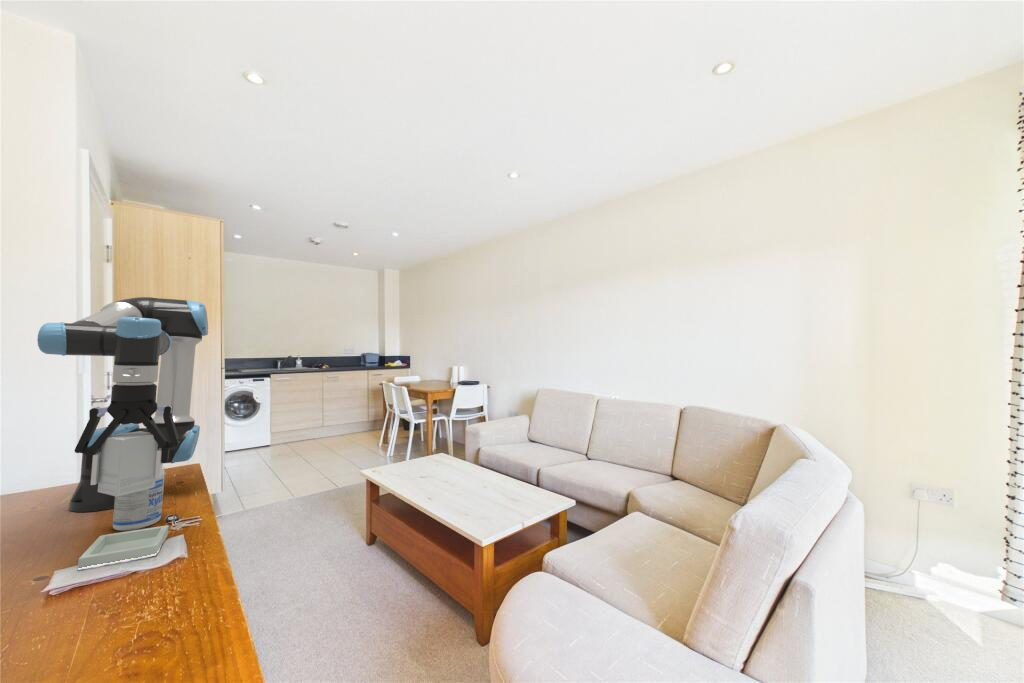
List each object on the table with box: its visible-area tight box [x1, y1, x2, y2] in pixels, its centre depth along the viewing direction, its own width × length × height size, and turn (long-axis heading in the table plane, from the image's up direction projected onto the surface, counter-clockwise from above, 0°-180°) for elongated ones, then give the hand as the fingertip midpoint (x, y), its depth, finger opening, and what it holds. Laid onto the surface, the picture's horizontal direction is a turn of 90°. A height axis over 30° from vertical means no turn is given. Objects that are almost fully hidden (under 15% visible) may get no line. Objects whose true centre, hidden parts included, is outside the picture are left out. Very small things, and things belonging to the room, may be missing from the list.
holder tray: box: [77, 524, 170, 569], centre depth 90 cm, size 12×12×2 cm
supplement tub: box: [112, 465, 166, 532], centre depth 104 cm, size 10×10×15 cm
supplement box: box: [98, 431, 158, 496], centre depth 89 cm, size 7×7×13 cm
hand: (127, 479), depth 89 cm, fingers closed on supplement box, 10 cm apart
